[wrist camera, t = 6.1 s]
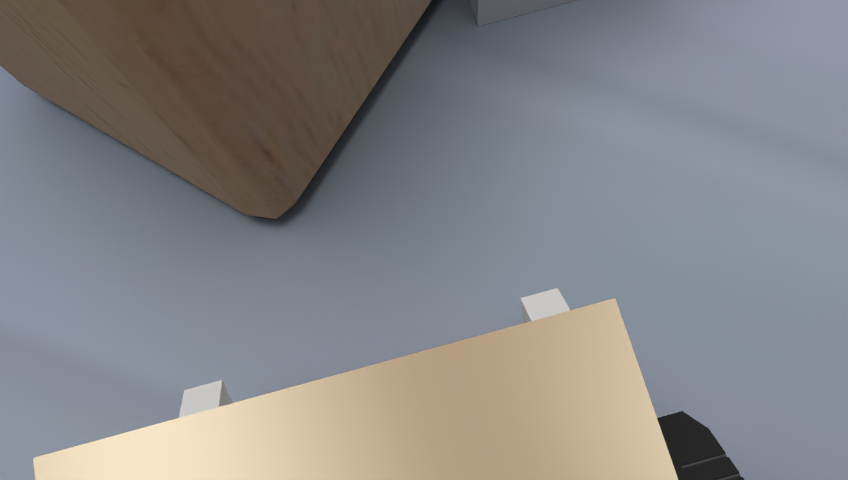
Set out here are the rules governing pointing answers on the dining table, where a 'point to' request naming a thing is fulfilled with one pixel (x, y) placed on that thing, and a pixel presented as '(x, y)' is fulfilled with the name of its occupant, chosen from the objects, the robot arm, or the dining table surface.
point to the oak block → (421, 418)
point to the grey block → (508, 8)
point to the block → (212, 80)
